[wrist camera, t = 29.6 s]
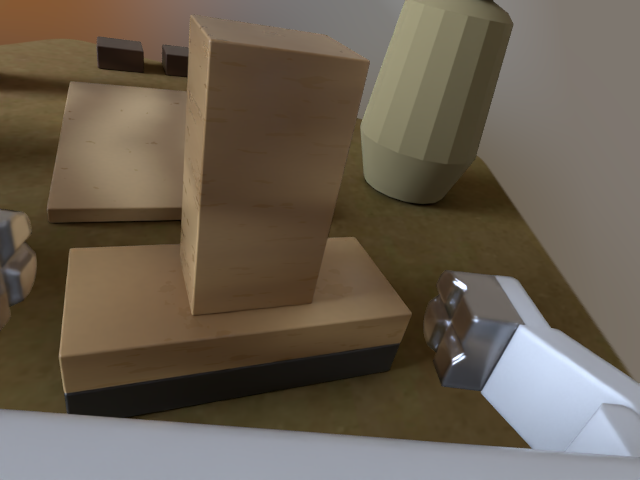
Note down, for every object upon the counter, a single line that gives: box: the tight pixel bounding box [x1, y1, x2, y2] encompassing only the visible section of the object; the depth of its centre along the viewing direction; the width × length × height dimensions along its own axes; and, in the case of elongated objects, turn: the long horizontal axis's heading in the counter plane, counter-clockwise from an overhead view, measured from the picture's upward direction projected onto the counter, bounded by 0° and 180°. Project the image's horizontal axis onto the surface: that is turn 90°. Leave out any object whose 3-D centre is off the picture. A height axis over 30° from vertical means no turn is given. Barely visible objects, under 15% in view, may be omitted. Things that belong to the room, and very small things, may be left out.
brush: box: [59, 15, 412, 418], centre depth 15 cm, size 11×5×11 cm, turn 111°
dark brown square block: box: [162, 45, 189, 77], centre depth 47 cm, size 4×4×2 cm
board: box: [47, 81, 187, 223], centre depth 32 cm, size 14×20×1 cm
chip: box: [97, 37, 144, 73], centre depth 45 cm, size 4×4×2 cm
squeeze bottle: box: [360, 0, 513, 204], centre depth 29 cm, size 8×8×18 cm
